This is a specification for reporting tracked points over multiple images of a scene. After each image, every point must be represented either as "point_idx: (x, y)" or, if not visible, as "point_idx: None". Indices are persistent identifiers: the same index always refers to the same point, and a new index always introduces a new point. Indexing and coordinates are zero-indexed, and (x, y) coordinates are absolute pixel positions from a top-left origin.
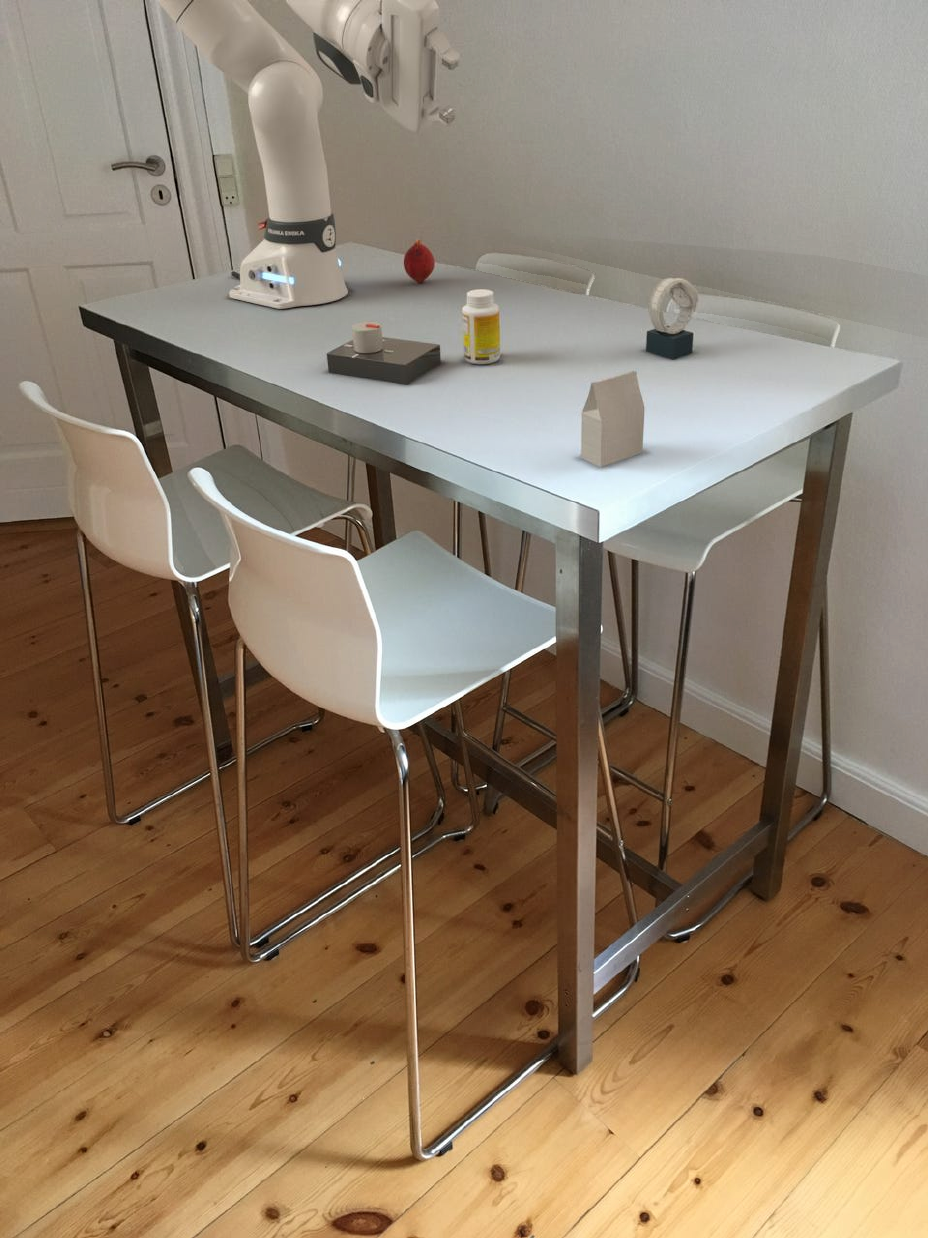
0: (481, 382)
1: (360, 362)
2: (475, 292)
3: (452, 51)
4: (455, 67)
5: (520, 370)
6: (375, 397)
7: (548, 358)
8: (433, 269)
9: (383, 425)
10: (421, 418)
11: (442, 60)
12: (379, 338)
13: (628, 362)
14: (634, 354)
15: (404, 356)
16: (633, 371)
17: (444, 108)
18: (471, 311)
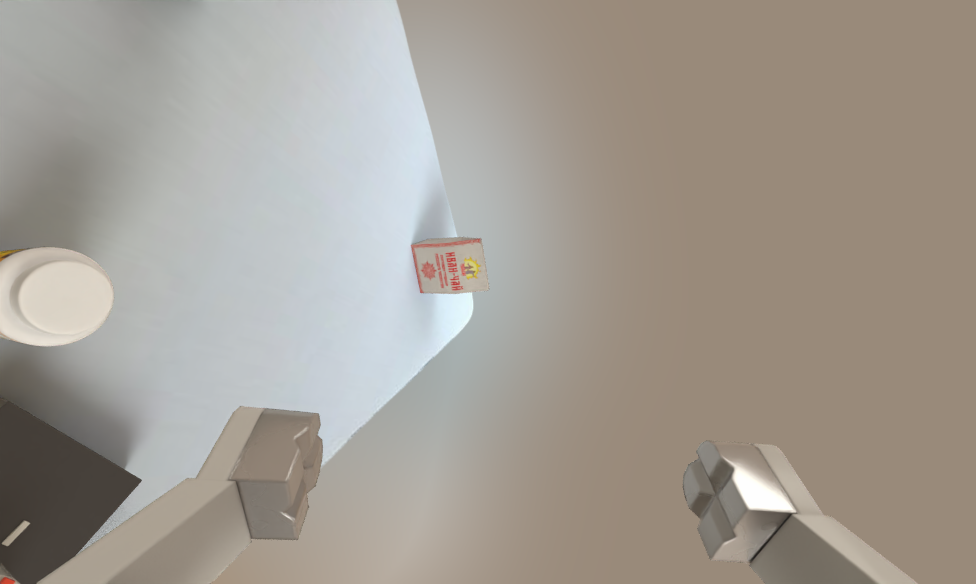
0: (173, 331)
1: None
2: (57, 308)
3: (794, 497)
4: (694, 461)
5: (136, 244)
6: None
7: (80, 158)
8: None
9: None
10: None
11: (736, 555)
12: (4, 568)
13: (182, 52)
14: (139, 4)
15: (77, 487)
16: (479, 240)
17: (287, 506)
18: (93, 329)
